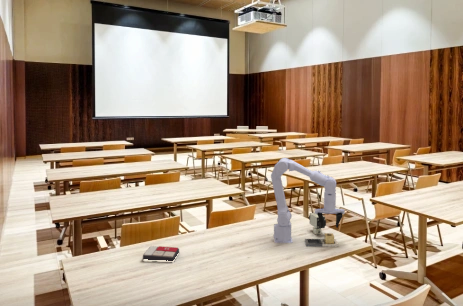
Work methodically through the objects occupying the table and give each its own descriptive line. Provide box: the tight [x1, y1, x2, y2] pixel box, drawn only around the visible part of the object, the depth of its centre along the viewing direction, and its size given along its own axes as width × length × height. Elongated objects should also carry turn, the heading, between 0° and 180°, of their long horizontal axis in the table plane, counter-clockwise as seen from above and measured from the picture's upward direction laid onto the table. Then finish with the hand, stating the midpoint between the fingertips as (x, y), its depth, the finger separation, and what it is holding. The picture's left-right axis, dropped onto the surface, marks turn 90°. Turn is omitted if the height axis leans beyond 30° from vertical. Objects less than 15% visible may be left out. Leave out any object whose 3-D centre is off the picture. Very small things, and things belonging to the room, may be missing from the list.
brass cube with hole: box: [323, 232, 335, 244], centre depth 191 cm, size 4×4×5 cm
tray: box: [304, 238, 339, 248], centre depth 191 cm, size 16×7×2 cm, turn 86°
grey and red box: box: [142, 245, 180, 261], centre depth 180 cm, size 11×4×15 cm
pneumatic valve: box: [308, 212, 327, 236], centre depth 205 cm, size 6×12×12 cm, turn 15°
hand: (329, 227), depth 190 cm, fingers open, 7 cm apart
